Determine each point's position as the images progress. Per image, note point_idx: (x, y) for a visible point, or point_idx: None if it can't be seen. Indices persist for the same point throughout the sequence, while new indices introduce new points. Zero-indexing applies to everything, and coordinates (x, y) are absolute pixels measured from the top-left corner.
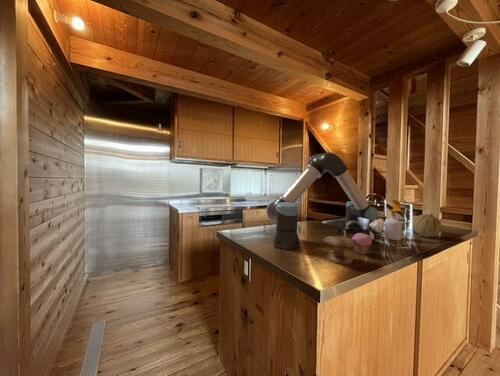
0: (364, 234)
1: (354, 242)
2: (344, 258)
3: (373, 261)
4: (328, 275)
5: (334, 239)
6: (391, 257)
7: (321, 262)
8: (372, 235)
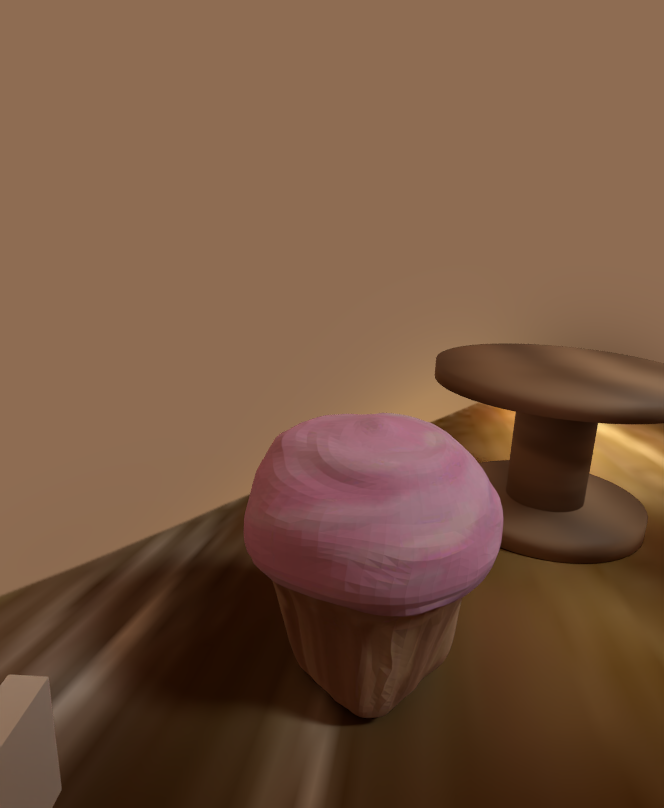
0: (345, 419)
1: (452, 356)
2: (505, 486)
3: None
4: None
5: (606, 370)
6: (62, 621)
7: (624, 478)
8: (48, 701)
